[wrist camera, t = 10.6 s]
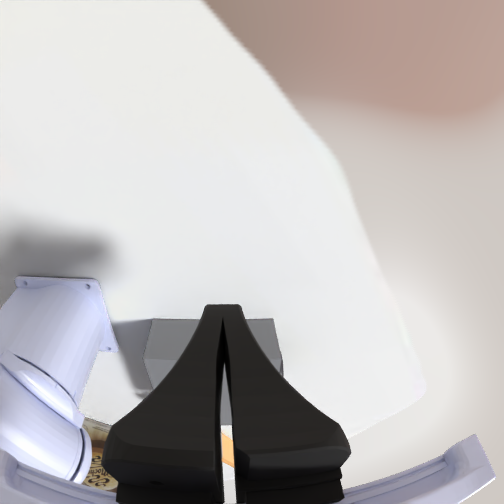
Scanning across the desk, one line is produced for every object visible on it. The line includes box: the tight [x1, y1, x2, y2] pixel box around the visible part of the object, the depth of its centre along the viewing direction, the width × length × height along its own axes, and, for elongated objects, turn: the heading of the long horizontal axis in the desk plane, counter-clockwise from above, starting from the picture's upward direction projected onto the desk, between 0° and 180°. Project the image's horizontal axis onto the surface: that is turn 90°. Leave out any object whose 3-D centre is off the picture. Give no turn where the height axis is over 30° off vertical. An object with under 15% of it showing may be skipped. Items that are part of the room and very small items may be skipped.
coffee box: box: [81, 417, 118, 493], centre depth 26 cm, size 9×6×16 cm
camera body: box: [143, 319, 283, 425], centre depth 24 cm, size 11×10×5 cm
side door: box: [221, 433, 234, 468], centre depth 30 cm, size 16×1×4 cm, turn 24°
